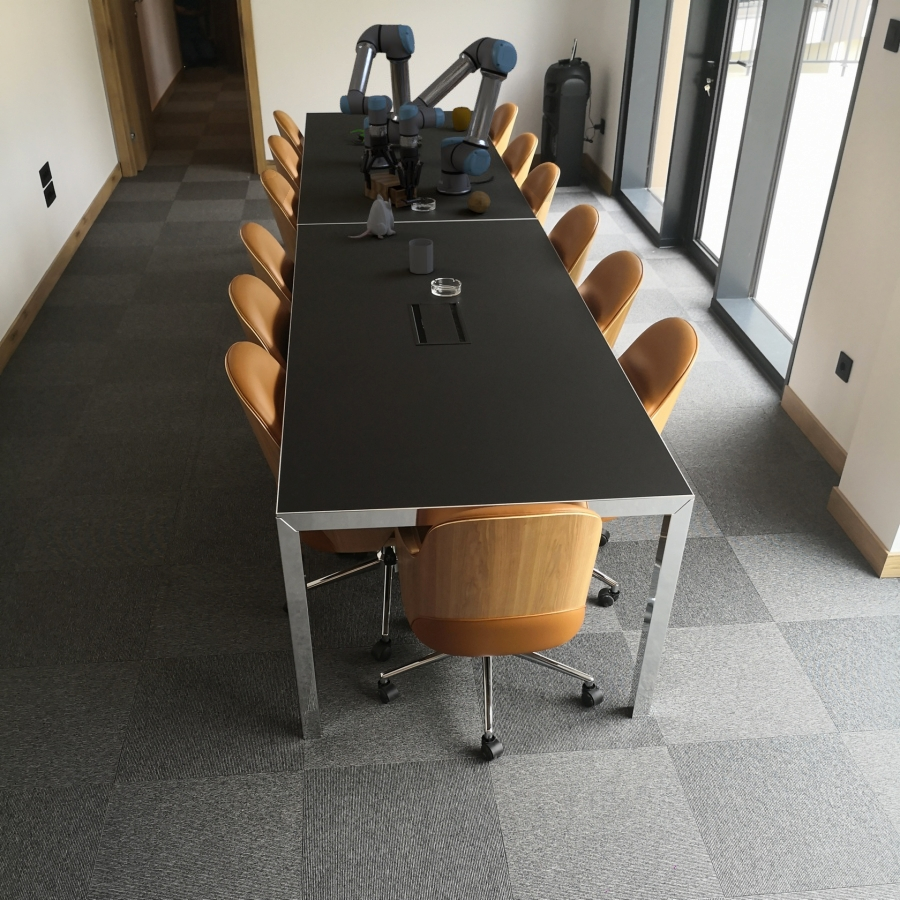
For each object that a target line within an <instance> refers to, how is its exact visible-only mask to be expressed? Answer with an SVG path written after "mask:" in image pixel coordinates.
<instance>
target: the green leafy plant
mask: <svg viewBox="0 0 900 900" xmlns="http://www.w3.org/2000/svg"><path fill="white" fill-rule="evenodd" d="M355 132H356V133H357V132H361V133H358V134H357V136H358V137H357V140H359V141H361V142H357V141H353V140H351V139H348V141H349V142H350V143H352V144H354V145H361V146H363V145H364V146H365V142H364V129H361V128H360V129H359V128H358V129H353V130H351V131H349V132H348V133H349V134H352V133H355Z"/></svg>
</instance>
